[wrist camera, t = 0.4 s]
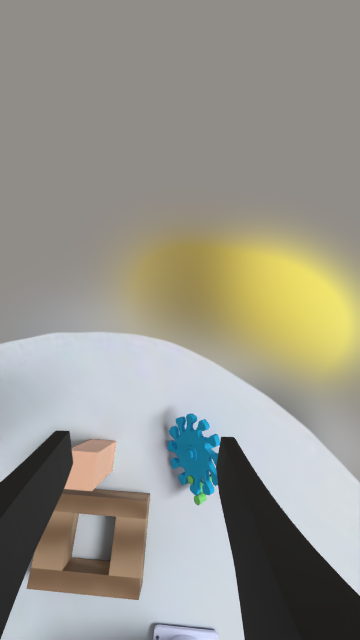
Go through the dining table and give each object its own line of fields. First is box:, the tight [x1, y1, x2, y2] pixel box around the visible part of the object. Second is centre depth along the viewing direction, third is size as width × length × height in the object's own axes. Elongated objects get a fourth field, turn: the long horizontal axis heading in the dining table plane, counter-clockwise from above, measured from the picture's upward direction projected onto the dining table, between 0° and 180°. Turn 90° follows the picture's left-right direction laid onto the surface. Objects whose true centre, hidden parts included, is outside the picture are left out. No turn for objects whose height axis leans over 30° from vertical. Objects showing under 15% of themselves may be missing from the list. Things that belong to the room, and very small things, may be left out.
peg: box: [64, 439, 116, 491], centre depth 31 cm, size 4×4×8 cm
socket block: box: [27, 489, 150, 600], centre depth 31 cm, size 10×14×2 cm
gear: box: [168, 414, 220, 505], centre depth 33 cm, size 11×6×10 cm
